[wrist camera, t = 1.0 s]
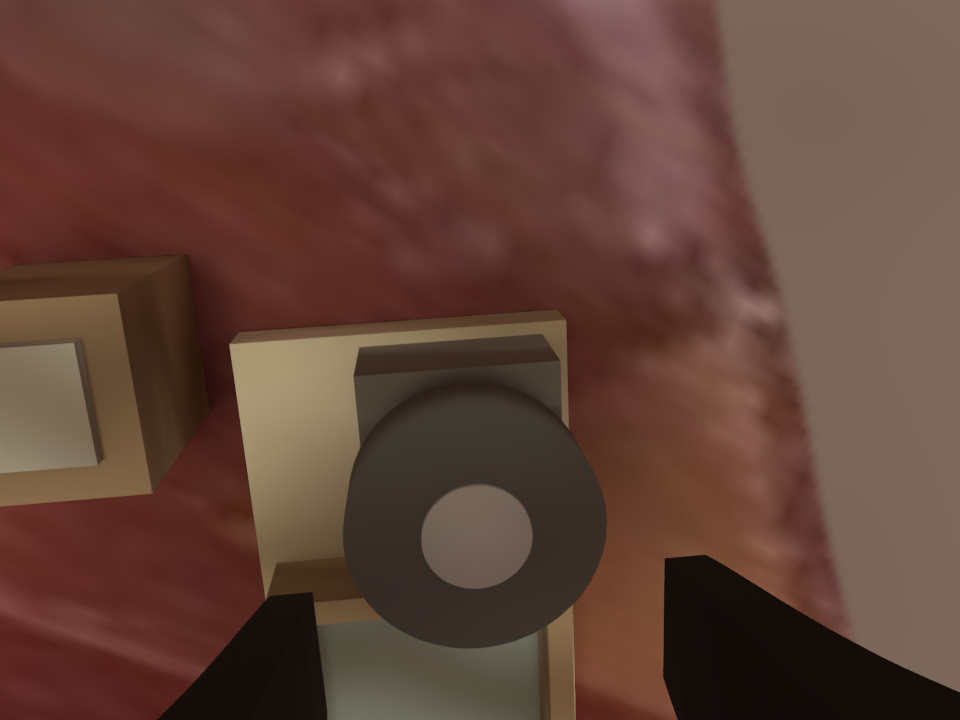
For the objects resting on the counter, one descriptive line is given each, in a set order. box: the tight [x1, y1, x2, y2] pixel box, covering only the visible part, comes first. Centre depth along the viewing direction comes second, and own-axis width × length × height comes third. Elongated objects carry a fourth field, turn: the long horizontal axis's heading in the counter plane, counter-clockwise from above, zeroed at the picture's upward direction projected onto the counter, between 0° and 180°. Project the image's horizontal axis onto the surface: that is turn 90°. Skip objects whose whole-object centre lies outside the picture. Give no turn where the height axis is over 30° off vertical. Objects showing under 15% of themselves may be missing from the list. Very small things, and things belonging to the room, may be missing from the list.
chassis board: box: [229, 310, 576, 720], centre depth 21 cm, size 13×8×4 cm, turn 3°
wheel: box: [343, 382, 606, 649], centre depth 17 cm, size 5×5×4 cm
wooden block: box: [0, 254, 210, 506], centre depth 18 cm, size 4×4×5 cm
